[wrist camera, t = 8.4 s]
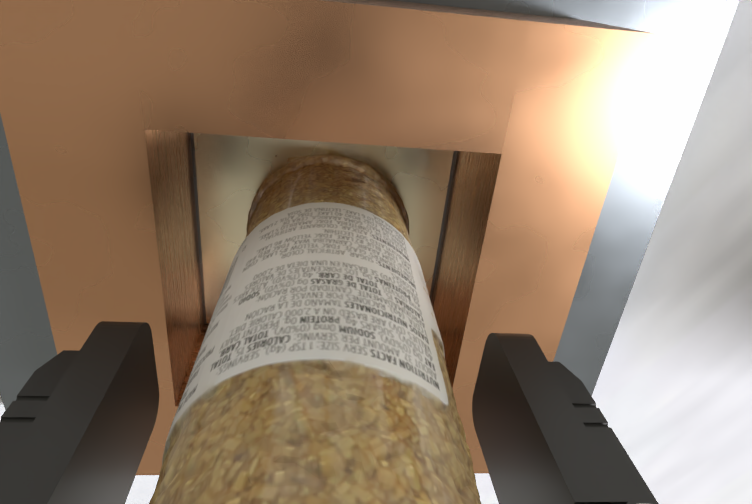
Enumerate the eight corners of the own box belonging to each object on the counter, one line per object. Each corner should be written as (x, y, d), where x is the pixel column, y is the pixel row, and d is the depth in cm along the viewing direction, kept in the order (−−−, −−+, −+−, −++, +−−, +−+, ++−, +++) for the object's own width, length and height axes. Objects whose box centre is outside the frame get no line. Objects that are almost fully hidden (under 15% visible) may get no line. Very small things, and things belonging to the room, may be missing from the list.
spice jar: (371, 312, 16) (463, 1212, 4) (226, 266, 15) (-160, 1294, 3) (435, 182, 14) (888, 1136, 3) (276, 120, 13) (-201, 1269, 2)
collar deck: (732, -54, 13) (903, -66, 9) (567, 411, 21) (624, 515, 17) (-137, -161, 11) (-396, -236, 7) (26, 406, 18) (-56, 525, 14)
